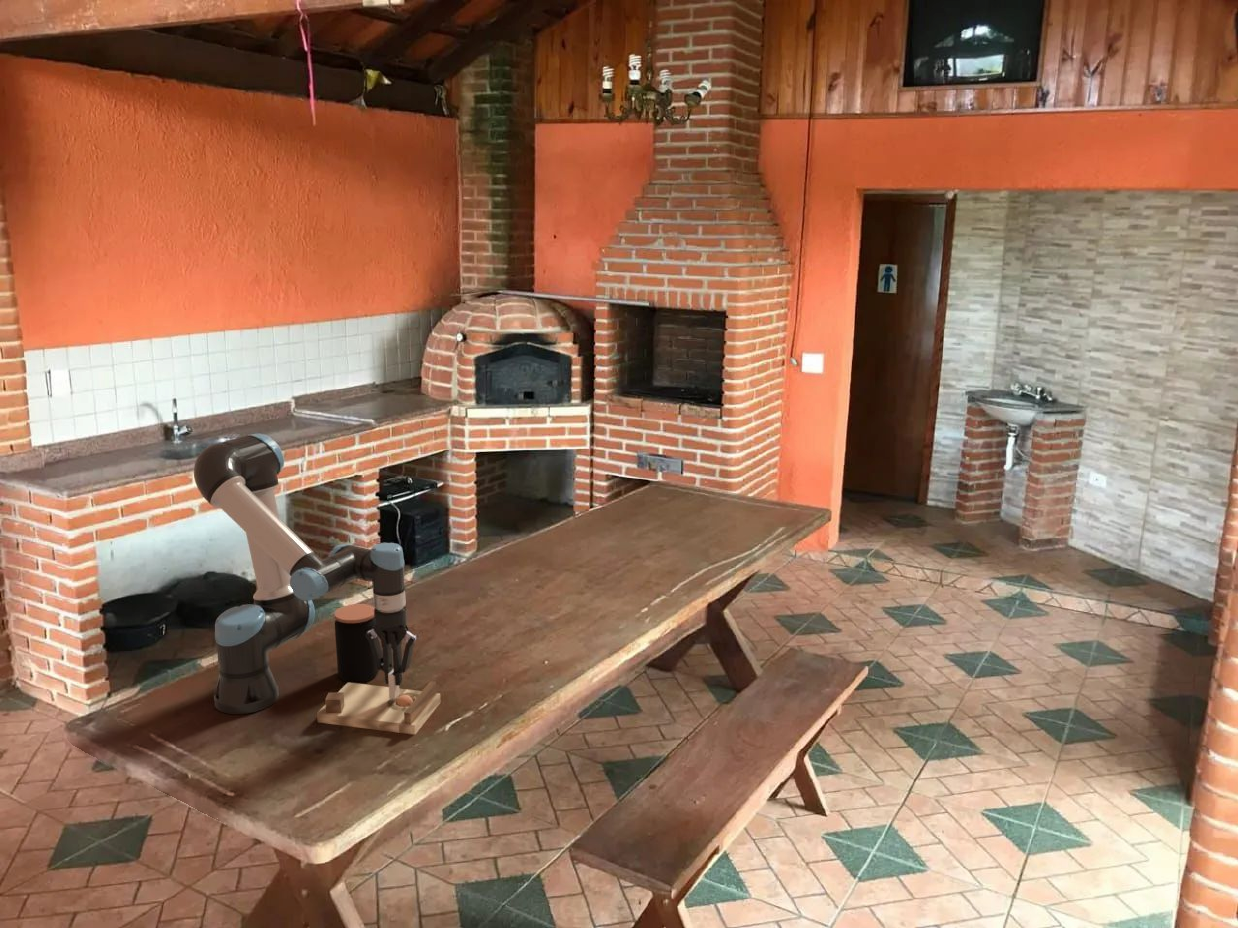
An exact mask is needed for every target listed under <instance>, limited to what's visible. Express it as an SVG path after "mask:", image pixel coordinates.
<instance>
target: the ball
mask: <svg viewBox="0 0 1238 928" xmlns="http://www.w3.org/2000/svg"><path fill="white" fill-rule="evenodd" d="M412 703H413V700H412V698H411V697H410V696H408V695H402V696H400V697H399V698H398V700H397V705H398V706H400V707H408V706H410V705H411V704H412Z"/></svg>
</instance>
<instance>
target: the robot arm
mask: <svg viewBox="0 0 1238 928" xmlns="http://www.w3.org/2000/svg"><path fill="white" fill-rule="evenodd" d="M284 466H285V457H284V453H283V451H282V448H281V447H280V445H279V444H278V443H277V442H276V441H275V440H273V438H272V437H270V436H269V435H267V434H263V433H254V434H253V433H252V434H246V435H242V436H240V437H239V436H238V437H235V438H232V439H229V440H224V441H222V442H217V443H213V444H211V445H207V447H205V448H204V449H203V450H202V451H201V452H200V453H199V454H198V455H197V457H196V460H195V463H194V467H193V476H194V482H195V485H196V487H197V489H198V491H199V493H200V494H201V496H202V497H203V498H204V500H206V502H208V504H210V505H211V507H213V508H215V509H221V510H222V511H223V512H224V513H225V514H226V515H227V516H228V517H229V518H230V519H232V520H233V522H235V523H236V524H237V525H238V526H239V527H240V528H241V529H242V531H244V532H245V535H246V540H247V544H248V548H249V554H250V558H251V562H252V567H253V568H252V569H253V573H254V576H255V581H256V586H257V590H256V591H255V593H254V594H253V596H252V597H253V602H254V604H252V603H251V604H250V603H249V604H248V603H247V604H241V605H240V606H238V605H237V606H234V607H233V606H232V607H231V608H229V609H228V608H227V610H225V611H224V612H222V613H220V614H219V616H217V618H216V620H215V622H214V623H215V624H214V630H215V631H214V639H215V640H214V641H215V646H216V652H217V654H216V655H217V664H218V665H217V666H218V673H219V674H218V679H217V683H216V686H215V691H214V694H213V700H214V707H215V709H216V710H217V711H219V712H220V713H224V714H229V715H245V714H252V713H255V712H259V711H262V710H264V709H267V708H269V707H270V706H272V705H273V704H275V703H276V701H277V700H278V698H279V696H280V693H279V687H278V683H277V682H276V681H275V680H276V679H275V678H274V675H273V673H272V671H271V668H270V666H269V652H271V651H274V650H275V649H277V648H279V647H280V646H283V645H285V644H287V643H289V642H292V641H293V640H296V639H297V638H299V637H301V636H302V635H303V634H305V633H306V632H308V631H309V630H310V629H311V627H312V625H313V623H314V622H315V616H316V612H315V605H314V602H313V600H315V599H317V598H321V597H323V596H325V595H326V594H327V593H330V592H332V591H333V590H335V589H337V588H339V587H340V588H341V587H342V586H344V585H347V584H348V583H350V582H354V580H359V581H364V582H365V581H366V582H371V583H372V596H373V607H374V608H375V609H374V620H375V626H374V629H371V630H369V631H368V632H367V633H366V634H365V637H366V638H367V640H368V641H369V643H370V647H371V650H372V653H373V657H374V660H375V664H376V667H377V669H378V670H379V671H382V672H384V683H385V684H386V685H388V687H389V698H391V699H395V698H396V697H397V696H398V695H399V694H400V692H399V688H400V685H401V684H402V683H403V674H404V673H405V672H406V671H407V670H408V669H410V665H411V664H410V663H411V661H412V660H411V659H412V655H413V649H414V646H415V642H416V641H417V639H418V637H419V636H418V634H416V633H414V634H413V633H412V632H410V631H409V627H408V626H407V625H408V624H407V606H406V604H407V602H406V601H407V600H406V585H405V559H404V552H403V547H402V546H401V545H400V544H399V543H394V542H380V543H377V544H374V545H373V546H372V547H371V549H369V548H366V547H362V546H357V545H353V544H343V543H341V544H340V543H339V544H337V545H335V546H334V547H333V548H332V549H331V550H330V551H329V554H328V556H327V557H325V558H321V557H320V556H319V555H318V554H316V552H315V551H313V550H312V549H311V548H310V546H308V545H307V544H306V543H305V542H304V541H303V540H302V538H300V537H299V536H298V535H297V534H296V533H295V532H294V531H292V529H291V528H290V527H289V526H288V525H286V524H285V523H284V522H283V521H282V520H281V519H280V514H279V509H278V505H277V500H276V495H275V492H276V491H275V490H276V489H277V487H279V486H280V484H279V483H280V482H279V480H278V475H280V473H281V472H282V471H283V468H284ZM377 636H378V637H377ZM379 639H380V640H379ZM404 639H405V646H404V651H402V643H403V640H404ZM380 642H381V644H380ZM402 652H403V653H402Z"/></svg>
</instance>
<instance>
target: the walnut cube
mask: <svg viewBox="0 0 1238 928" xmlns="http://www.w3.org/2000/svg"><path fill="white" fill-rule="evenodd" d="M324 700H325V701H324V702H325V704H324V705H326V713H342V710H343V708H344V692H339V691H338V692H328V693H327V695H326V697H325V699H324Z"/></svg>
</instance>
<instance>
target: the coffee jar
mask: <svg viewBox="0 0 1238 928" xmlns="http://www.w3.org/2000/svg"><path fill="white" fill-rule="evenodd" d="M374 609H375V607H374V605H371V604H366V603H354V604H353V603H352V604H347V605H343V606H342V607H338V608H337V609H336V610H335V611H334V613H333V615H334V619H335V620H334V632H335V648H336V649H335V650H336V652H335V653H336V664H337V665H336V666H337V674H338V677H340V679H341V680H342V681H344V682H346V683H348V682H349V683H357V684H362V683H365V682H369V681H371V680H373V679H375V677H377V675H378V673H379V671H380V670H378V669H377V667H376V664H375V660H374V657H373V653H372V650H371V647H370V643H369V641H368V640H367V638H366V637H365V634H366V633H367V632H368V631H369V630H371V629H374V626H375V620H374ZM377 637H378V636H377ZM378 638H379V637H378Z"/></svg>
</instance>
